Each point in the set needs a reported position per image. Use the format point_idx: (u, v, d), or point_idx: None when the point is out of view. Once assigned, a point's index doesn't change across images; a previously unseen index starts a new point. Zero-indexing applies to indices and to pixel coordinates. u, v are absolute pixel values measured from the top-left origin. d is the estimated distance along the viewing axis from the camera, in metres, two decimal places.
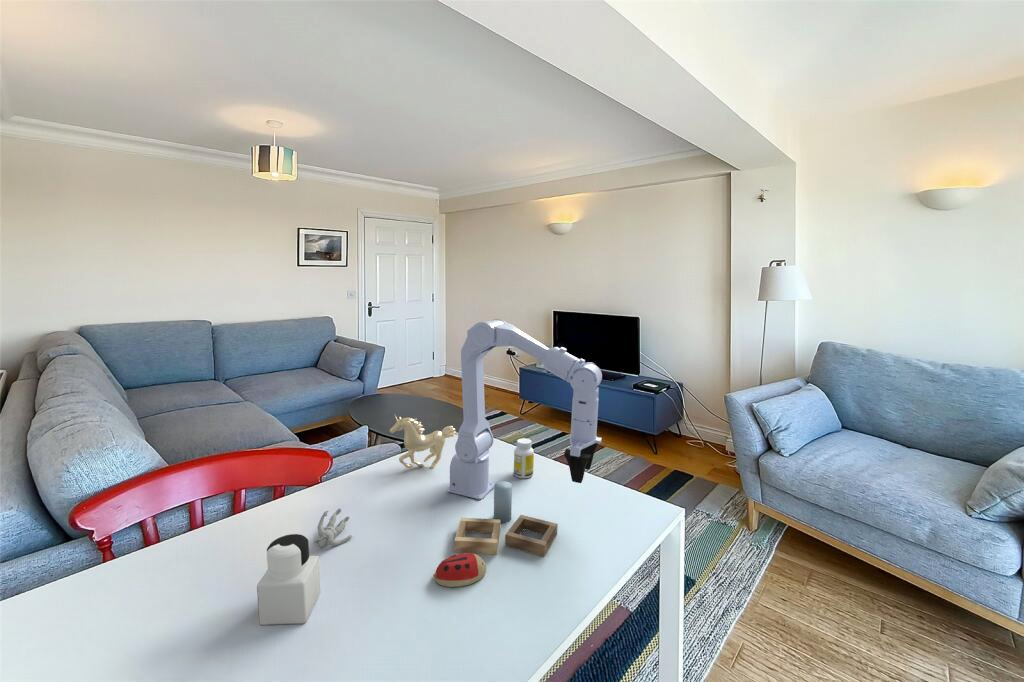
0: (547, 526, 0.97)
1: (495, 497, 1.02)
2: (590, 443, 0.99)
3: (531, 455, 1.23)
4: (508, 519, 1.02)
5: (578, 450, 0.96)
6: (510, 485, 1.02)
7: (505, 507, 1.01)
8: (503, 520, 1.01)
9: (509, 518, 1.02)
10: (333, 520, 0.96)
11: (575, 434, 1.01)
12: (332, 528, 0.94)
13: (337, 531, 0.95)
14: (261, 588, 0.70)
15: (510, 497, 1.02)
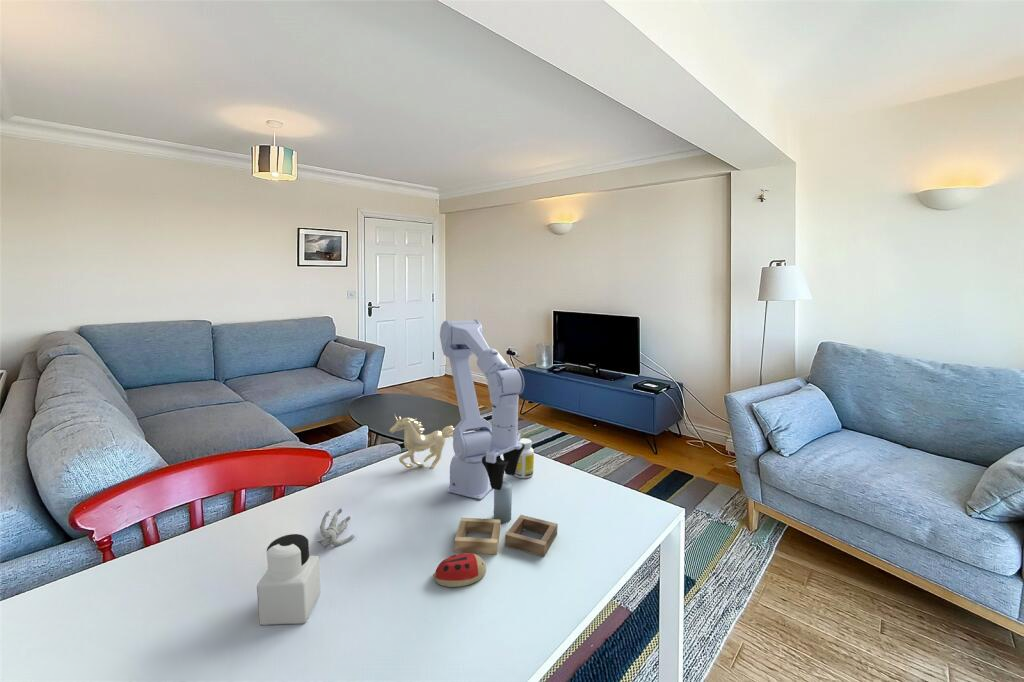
0: (547, 526, 0.97)
1: (495, 497, 1.02)
2: (508, 449, 0.97)
3: (531, 455, 1.23)
4: (508, 519, 1.02)
5: (493, 456, 0.94)
6: (510, 485, 1.02)
7: (505, 507, 1.01)
8: (503, 520, 1.01)
9: (509, 518, 1.02)
10: (335, 520, 0.96)
11: (494, 440, 0.99)
12: (334, 528, 0.94)
13: (339, 531, 0.95)
14: (261, 588, 0.70)
15: (510, 497, 1.02)
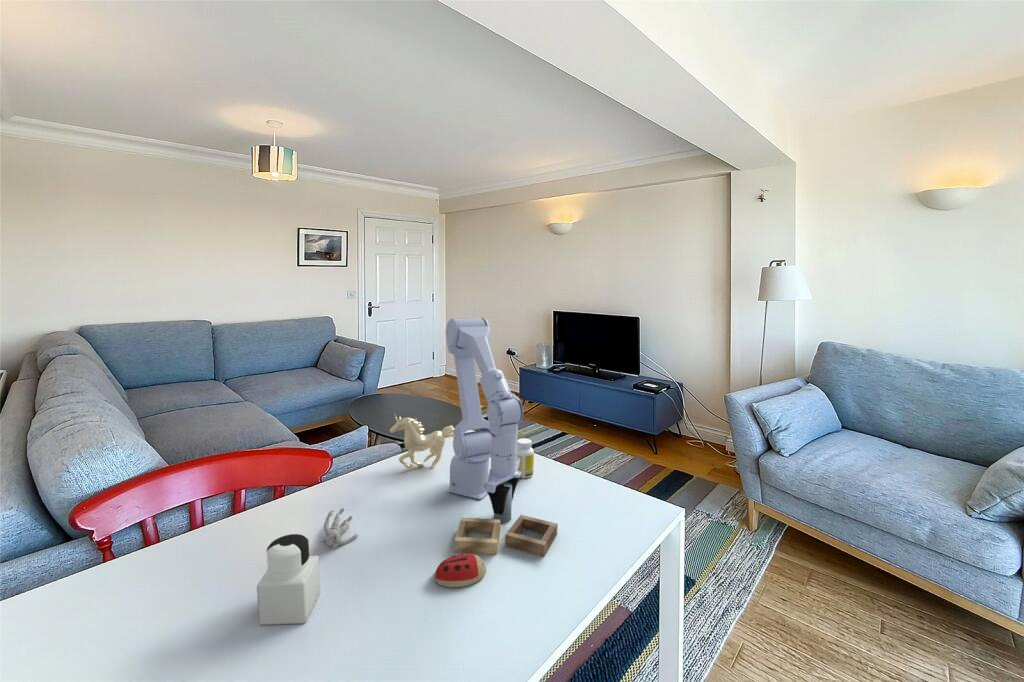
0: (547, 526, 0.97)
1: None
2: (508, 478, 0.98)
3: (531, 455, 1.23)
4: (508, 519, 1.02)
5: (492, 486, 0.95)
6: (510, 485, 1.02)
7: (505, 507, 1.01)
8: (503, 520, 1.01)
9: (509, 518, 1.02)
10: (337, 520, 0.96)
11: (493, 468, 1.00)
12: (337, 528, 0.94)
13: (342, 530, 0.95)
14: (261, 588, 0.70)
15: (510, 497, 1.02)
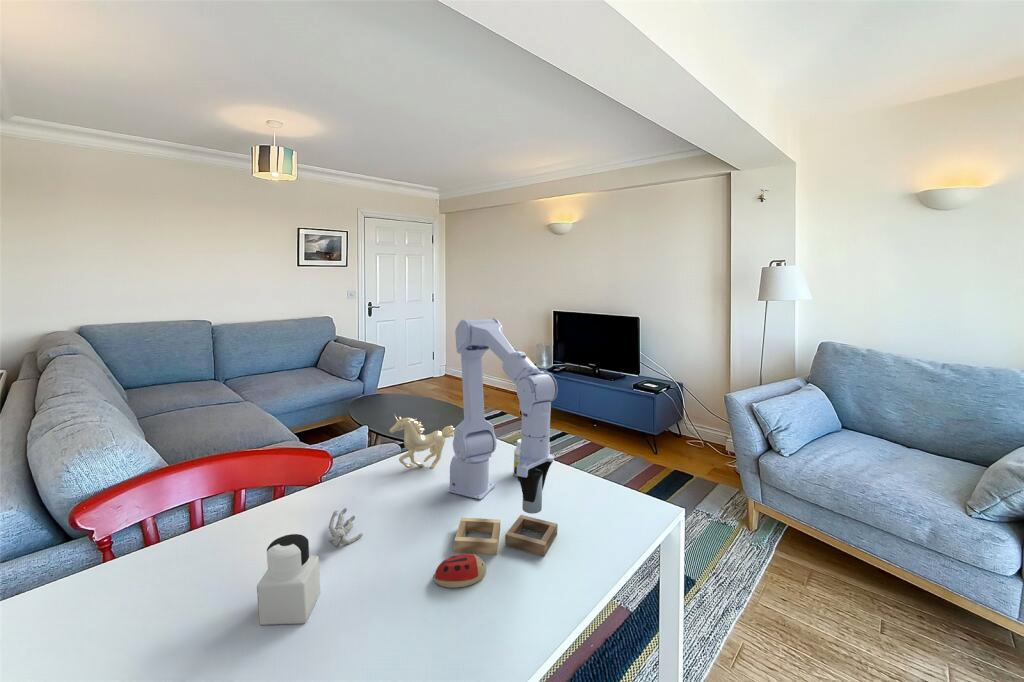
0: (547, 526, 0.97)
1: None
2: (540, 461, 0.89)
3: None
4: (538, 509, 0.93)
5: (525, 470, 0.86)
6: None
7: None
8: (532, 510, 0.92)
9: (539, 508, 0.93)
10: (341, 520, 0.96)
11: (524, 451, 0.91)
12: (342, 527, 0.94)
13: (346, 530, 0.95)
14: (261, 588, 0.70)
15: (540, 485, 0.92)
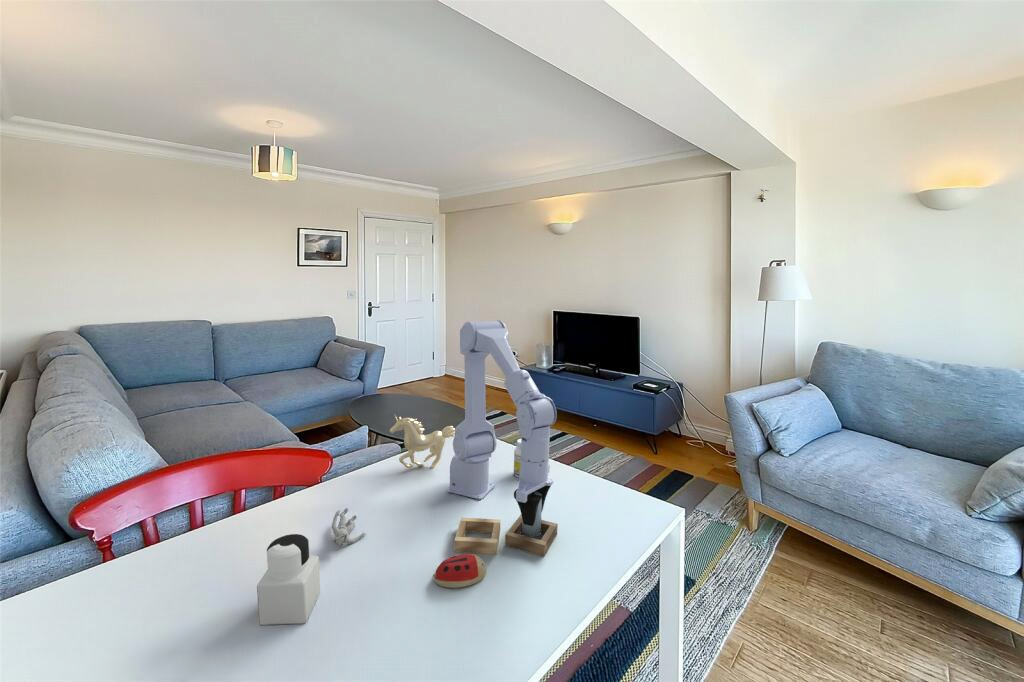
0: (547, 526, 0.97)
1: None
2: (539, 486, 0.90)
3: None
4: (537, 532, 0.94)
5: (524, 495, 0.86)
6: (540, 495, 0.94)
7: None
8: (532, 533, 0.93)
9: (538, 531, 0.94)
10: (344, 519, 0.96)
11: (523, 475, 0.91)
12: (345, 527, 0.94)
13: (349, 530, 0.96)
14: (261, 588, 0.70)
15: (539, 508, 0.93)
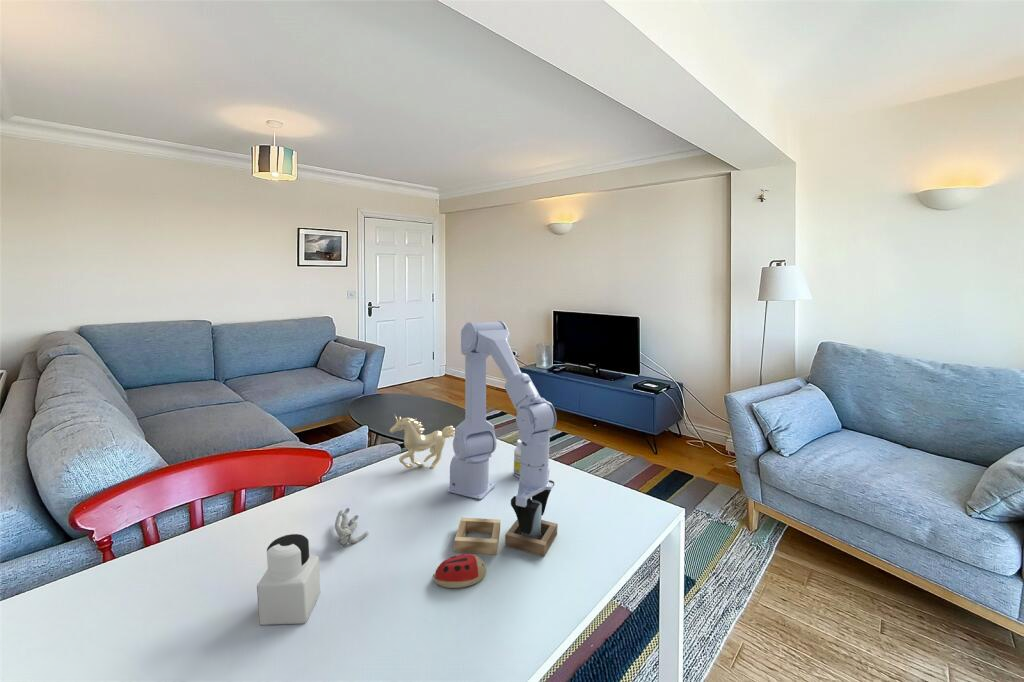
0: (547, 526, 0.97)
1: None
2: (539, 490, 0.90)
3: None
4: None
5: (524, 500, 0.87)
6: (540, 504, 0.94)
7: (533, 528, 0.93)
8: None
9: None
10: (346, 519, 0.96)
11: (523, 479, 0.91)
12: (348, 527, 0.94)
13: (351, 529, 0.96)
14: (261, 588, 0.70)
15: (539, 517, 0.94)
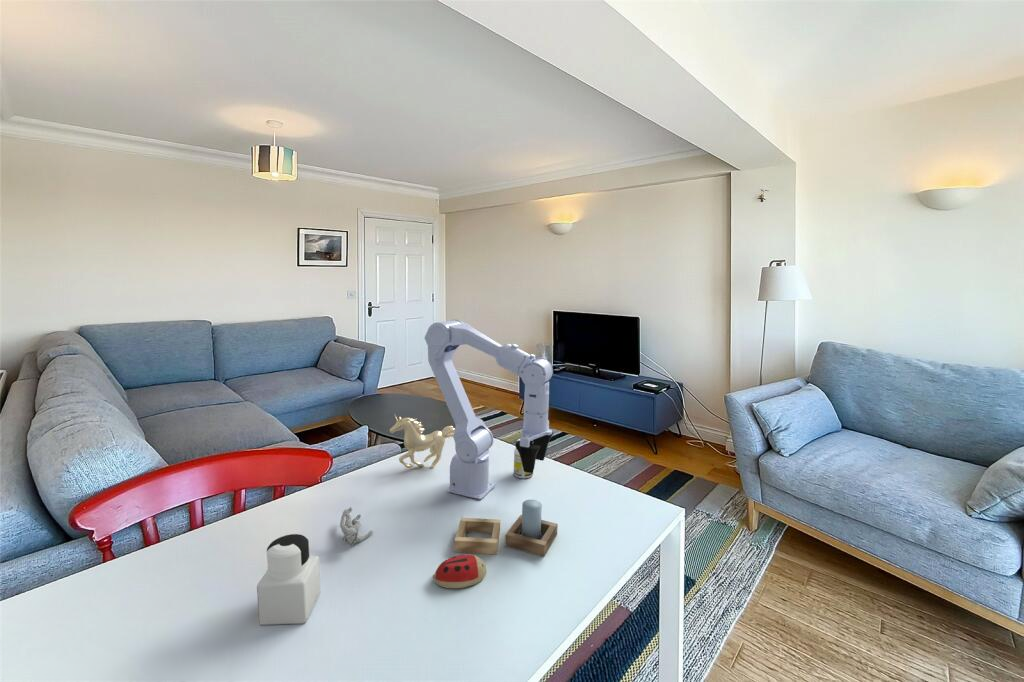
0: (547, 526, 0.97)
1: (523, 517, 0.94)
2: (540, 435, 1.04)
3: None
4: None
5: (527, 441, 1.00)
6: (539, 504, 0.94)
7: (533, 528, 0.93)
8: None
9: None
10: (350, 518, 0.97)
11: (526, 426, 1.05)
12: (353, 526, 0.95)
13: (356, 528, 0.96)
14: (261, 588, 0.70)
15: (539, 517, 0.94)
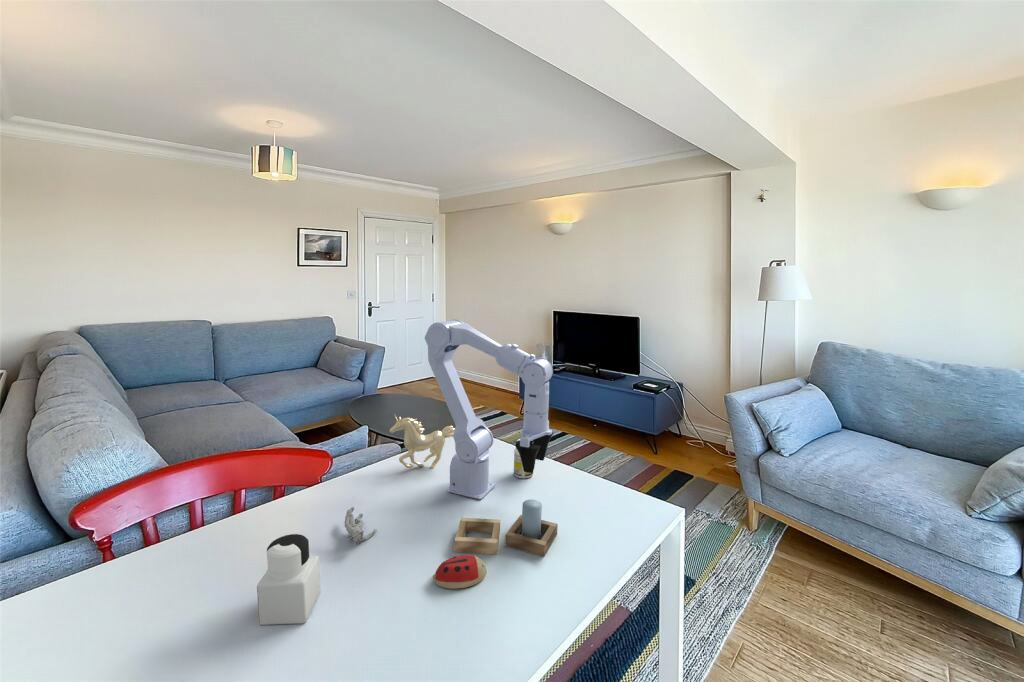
0: (547, 526, 0.97)
1: (523, 516, 0.94)
2: (540, 435, 1.04)
3: None
4: None
5: (527, 441, 1.00)
6: (540, 504, 0.94)
7: (533, 528, 0.93)
8: None
9: None
10: (353, 518, 0.97)
11: (526, 426, 1.05)
12: (357, 525, 0.95)
13: (359, 528, 0.96)
14: (261, 588, 0.70)
15: (539, 517, 0.94)
